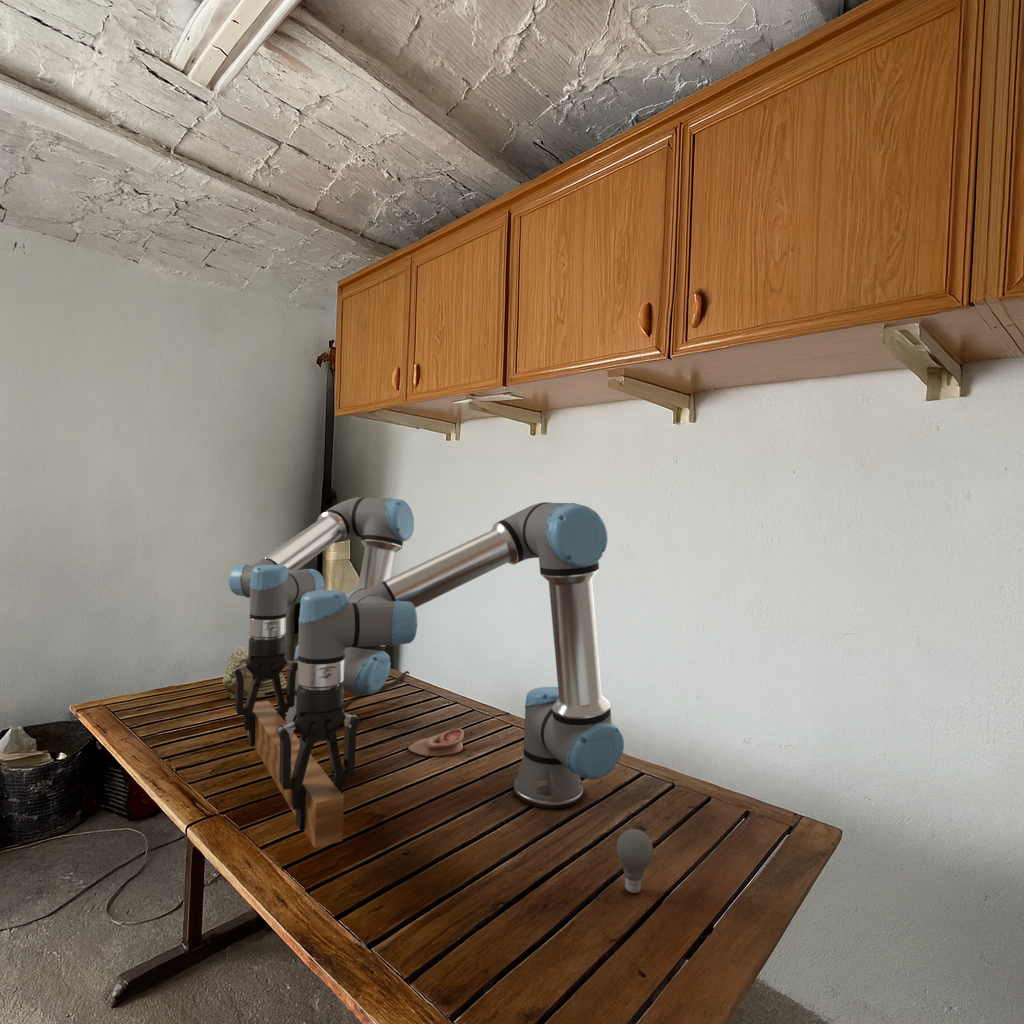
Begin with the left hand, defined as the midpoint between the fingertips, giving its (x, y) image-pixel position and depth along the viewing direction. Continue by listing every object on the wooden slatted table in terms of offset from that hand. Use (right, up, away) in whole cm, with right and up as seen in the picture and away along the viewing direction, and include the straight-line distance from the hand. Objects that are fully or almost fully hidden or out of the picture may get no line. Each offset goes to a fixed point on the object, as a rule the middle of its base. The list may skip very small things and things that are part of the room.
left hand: (264, 741), depth 139 cm
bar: (+11, -1, -16) cm, 20 cm away
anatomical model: (+35, -10, +23) cm, 43 cm away
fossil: (-26, -7, +59) cm, 65 cm away
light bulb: (+75, -13, -33) cm, 83 cm away
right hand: (+22, -2, -33) cm, 39 cm away
